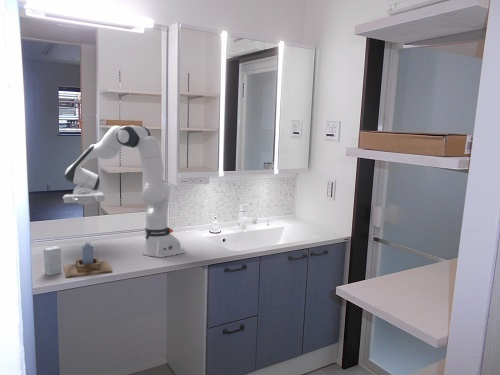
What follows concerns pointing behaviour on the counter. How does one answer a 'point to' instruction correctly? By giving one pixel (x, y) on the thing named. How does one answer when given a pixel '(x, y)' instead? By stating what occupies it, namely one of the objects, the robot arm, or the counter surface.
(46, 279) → the counter surface
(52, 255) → the skincare box
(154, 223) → the robot arm
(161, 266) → the counter surface
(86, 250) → the soap bottle
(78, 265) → the bottle caddy
